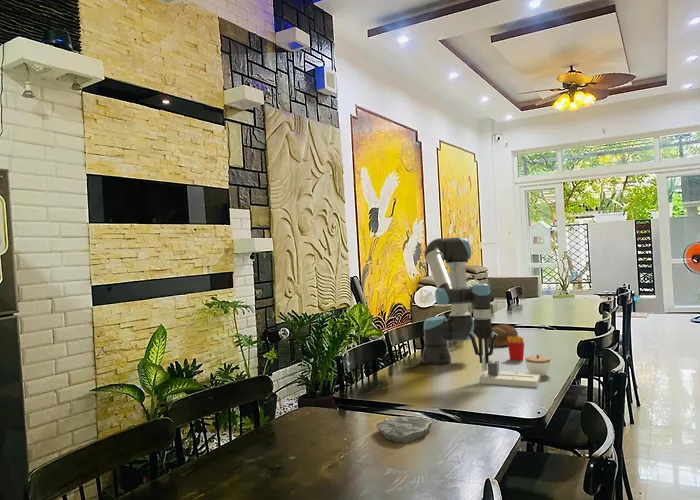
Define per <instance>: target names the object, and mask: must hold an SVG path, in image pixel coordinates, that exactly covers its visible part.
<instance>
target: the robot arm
mask: <svg viewBox="0 0 700 500" xmlns="http://www.w3.org/2000/svg"><path fill="white" fill-rule="evenodd" d="M471 258H472V248H471V245H470V241H469V240H468V239H467V238H466V237H457V236H456V237H445V238H444V237H443V238H441V237H440V238H436V239H433V240H431V241H430V242H429V243H428V244H427V246H426V247H425V250H424V259H425V263H426V264H427V265H428V266H429V268H430V271H431V274H432V277H433V280H434V283H435V286H436V289H435V291H434V298H435V301H436V304H437V305H445V306H447V305H450V306H451V308H450V309H451V312H450V313H449V315H448V318H447V317H446V316H444V315H440V316H439V315H436V316H433V317H432V316H431V317H428V318H426V319H425V320H424V322H423V336H424V338H423V341H424V347H423V348H424V349H423V352H422V357H421V363H422V364H425V365H430V366H431V365H433V366H435V365H436V366H437V365H438V366H439V365H448V364H450V363H451V362H452V356H451V354H450V350H449V349H448V342H455V341H456V342H458V341H471V343H472V348H473V350H474V354H475V355H476V356H478V357H479V363H480V364H481V368H482V369H481V371H482V372H485V371H486V370H488V362H489V361H490V360H489V357H490V356H492V355H493V353H494V349H495V346H494V345H495V340H496V338H497V336H498V334H495V333H494V332H493V330H492V319H491V317H492V311H491V309H492V308H491V289H490V284H488V283H476V284H475V283H474V284H473V285H470V286H467V273H466V272H467V271H466V266H467V264H468V263H469V260H470V259H471ZM447 266H448V270H447ZM469 304H473V308H472V309H473V310H472V311H473V317H472V313H471V312H470V311H469ZM491 334H492V341H491V345H489V344H488V338H489V337H490V335H491ZM476 338H477V339H478V340H477V341H478V345H477V341H476ZM483 342H484V344H483ZM483 345H484V346H483ZM483 347H484V348H483ZM489 347H490V348H489Z"/></svg>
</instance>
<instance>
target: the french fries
mask: <svg viewBox="0 0 700 500" xmlns="http://www.w3.org/2000/svg"><path fill="white" fill-rule="evenodd" d="M507 339H508V346H507V347H508V354H509V359H510V360H511V361H523V360H524V356H525V355H524V354H525V353H524V351H525V342H524V337H522V336H519V335H518V337H515V336H514V337H512V336H510V337H507Z"/></svg>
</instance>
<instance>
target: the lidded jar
mask: <svg viewBox="0 0 700 500" xmlns="http://www.w3.org/2000/svg"><path fill="white" fill-rule="evenodd" d="M525 366H526V369H527V372H528V373H540V374H541V376H543V377H546V376H545V375H547V374H548V373H549V371H550V369H551V358H550V357H548V356H544V355H540V354H539V353H538V354H536V355H529V356H526V357H525Z"/></svg>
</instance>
